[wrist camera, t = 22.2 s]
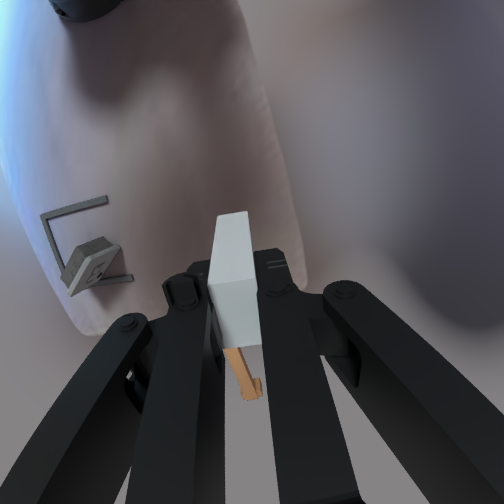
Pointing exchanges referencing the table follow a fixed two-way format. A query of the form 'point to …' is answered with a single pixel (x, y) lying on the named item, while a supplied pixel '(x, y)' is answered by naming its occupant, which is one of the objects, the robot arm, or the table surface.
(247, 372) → the lever
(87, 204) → the bay
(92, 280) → the electrical switch
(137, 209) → the table surface
